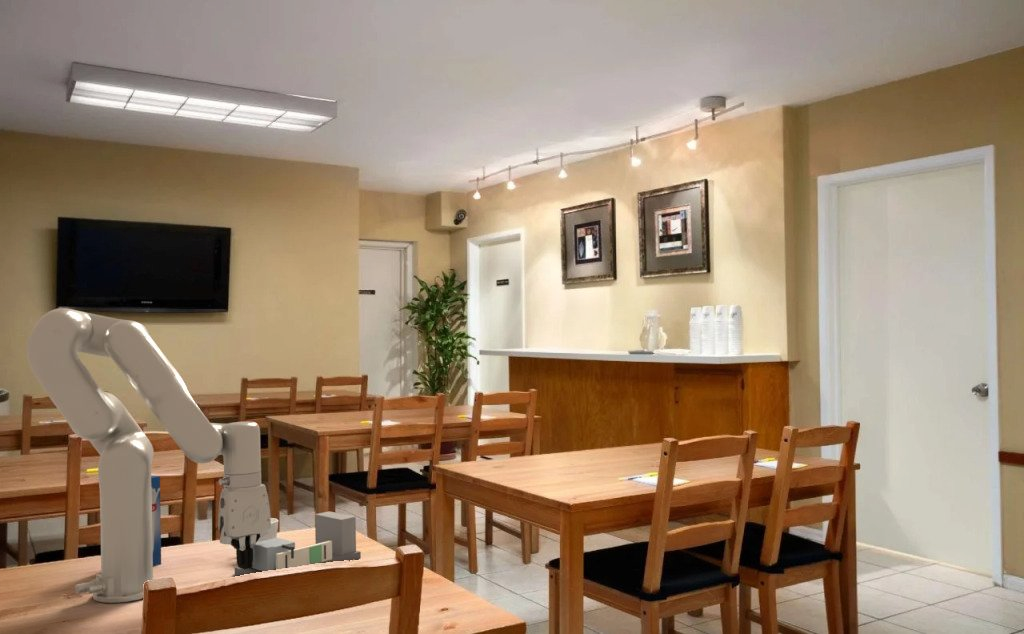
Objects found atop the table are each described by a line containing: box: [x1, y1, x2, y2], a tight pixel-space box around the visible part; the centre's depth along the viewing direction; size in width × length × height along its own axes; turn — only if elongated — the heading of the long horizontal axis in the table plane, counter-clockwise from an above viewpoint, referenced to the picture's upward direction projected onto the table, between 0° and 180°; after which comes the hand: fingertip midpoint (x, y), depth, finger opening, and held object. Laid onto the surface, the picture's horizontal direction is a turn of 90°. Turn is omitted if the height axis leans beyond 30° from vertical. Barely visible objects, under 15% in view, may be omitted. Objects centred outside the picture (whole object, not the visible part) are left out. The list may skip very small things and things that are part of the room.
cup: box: [257, 517, 279, 542], centre depth 198 cm, size 7×10×8 cm
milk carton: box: [151, 474, 162, 567], centre depth 190 cm, size 10×6×20 cm, turn 146°
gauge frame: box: [234, 510, 362, 576], centre depth 188 cm, size 25×12×10 cm, turn 139°
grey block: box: [252, 537, 296, 571], centre depth 182 cm, size 8×12×5 cm, turn 49°
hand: (245, 567), depth 178 cm, fingers closed
